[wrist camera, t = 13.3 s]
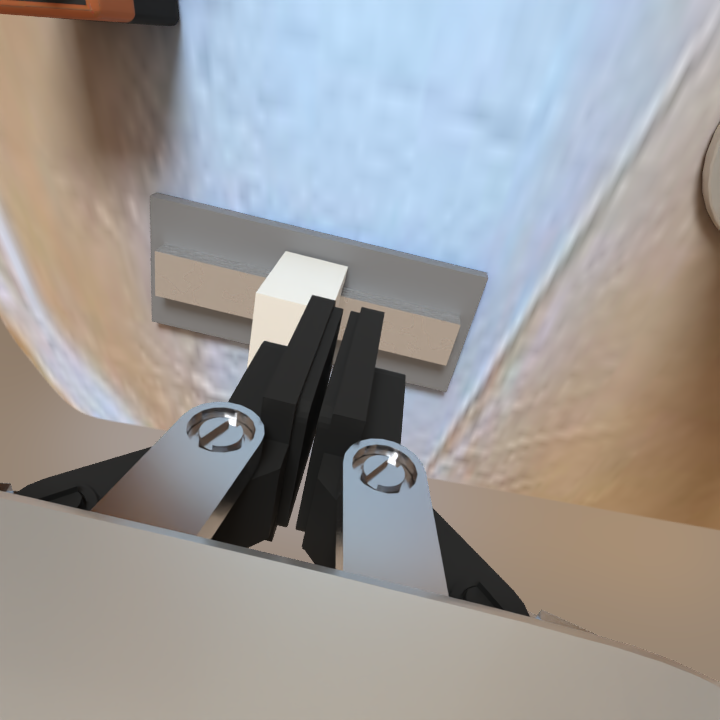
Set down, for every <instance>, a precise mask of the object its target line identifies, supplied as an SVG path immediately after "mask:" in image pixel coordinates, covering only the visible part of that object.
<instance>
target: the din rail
mask: <svg viewBox="0 0 720 720" xmlns="http://www.w3.org/2000/svg"><path fill="white" fill-rule="evenodd" d="M271 271H272V270H270V269H266V268H261V267H257V266H253V265H249V264H245V263H241V262H237V261H232V260H228V259H224V258H220V257H216V256H212V255H208V254H204V253H199V252H195V251H191V250H187V249H183V248H179V247H175V246H171V245H166V244H163V245H162V246H161V247H159V248H158V249H157V250H155V296H159V297H163V298H167V299H171V300H175V301H180V302H184V303H188V304H192V305H196V306H200V307H205V308H209V309H213V310H217V311H221V312H225V313H229V314H234V315H238V316H242V317H246V318H250V319H253V313H254V305H255V296H256V292H257V291H258V289H259V288H260V286H261V285H262V284H263V282H264V281H265V279H266V278H267V277H268V275H269V274H270V272H271ZM361 307H365V308H369V309H373V310H377V311H382V312H385V314H384V320H383V326H382V331H381V337H380V343H379V348H378V349H379V350H383V351H387V352H391V353H395V354H399V355H404V356H408V357H412V358H416V359H420V360H424V361H428V362H433V363H437V364H441V365H445V366H446V365H447V362H448V359H449V356H450V354H451V351H452V348H453V345H454V342H455V340H456V337H457V334H458V331H459V328H460V326H461V323H460V315H456V314H452V313H447V312H443V311H439V310H435V309H431V308H427V307H423V306H418V305H414V304H410V303H406V302H402V301H398V300H394V299H390V298H385V297H381V296H377V295H373V294H369V293H365V292H361V291H356V290H352V289H348V288H344V287H343V288H342V292H341V297H340V302H339V306H338V308H342V309H343V315H342V320H341V325H340V329H339V334H338V339H337V340H341V341H342V338H343V335H344V331H345V328H346V325H347V322H348V318H349V315H350V312H351V311H355V312H359V313H360V311H361Z"/></svg>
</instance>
